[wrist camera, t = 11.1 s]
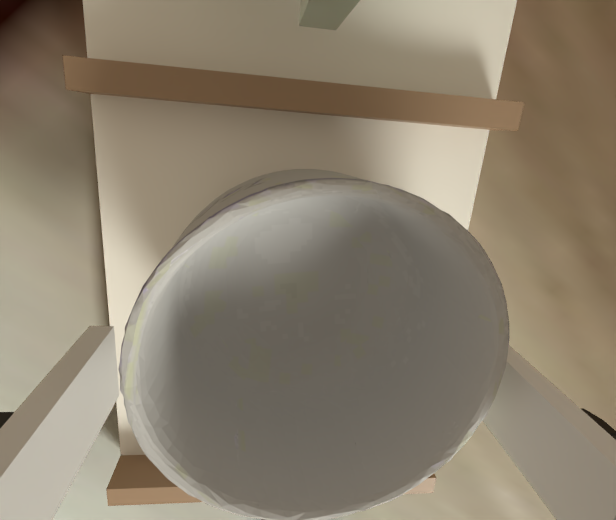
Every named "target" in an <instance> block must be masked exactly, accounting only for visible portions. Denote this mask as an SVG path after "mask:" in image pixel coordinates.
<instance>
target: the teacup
mask: <svg viewBox="0 0 616 520" xmlns="http://www.w3.org/2000/svg"><path fill="white" fill-rule="evenodd" d="M508 346H509V319H508V311H507V303H506V299H505V295H504V291H503V287H502V284H501V281H500V279H499V277H498V275H497V273H496V271H495V268H494V266H493V264H492V262H491V261H490V259H489V257H488V255H487V254H486V252H485V251H484V249H483V248H482V246H481V245H480V243H479V242H478V241H477V240H476V239H475V238H474V237H473V236H472V235H471V234H470V233H469V232H468V230H466V229H465V228H464V227H463V226H462V225H461V224H460V223H459V222H457V221H456V220H455V219H454V218H453V217H452V216H451V215H450V214H448V213H446V212H444V211H442V210H440V209H439V208H437V207H436V206H434V205H433V204H431V203H430V202H428V201H427V200H425V199H423V198H421V197H419V196H416V195H414V194H411V193H409V192H407V191H404V190H402V189H399V188H395V187H392V186H389V185H385V184H380V183H376V182H372V181H368V180H363V179H360V178H357V177H353V176H349V175H346V174H342V173H338V172H332V171H326V170H317V169H293V170H283V171H278V172H273V173H269V174H265V175H261V176H258V177H255V178H252V179H250V180H248V181H246V182H243V183H241V184H239V185H237V186H235V187H233V188H231V189H229V190H228V191H226V192H225V193H223V194H222V195H220V196H219V197H217V198H216V199H215V200H213V201H212V202H211V203H210V204H209V205H208V206H206V207H205V208H204V209H203V210H202V211H201V212H200V213H199V214H198V215H197V216H196V217H195V218H194V219H193V220H192V222H191V223H190V224H189V225H188V226H187V227H186V229H185V230H184V231H183V233H182V234H181V236H180V237H179V238H178V240H177V241H176V242H175V244H174V245H173V247H172V248H171V249H170V250H169V251H168V252H167V254H166V255H165V256H164V257H163V258H162V260H161V261H160V262H159V264H158V265H157V267H156V268H155V269H154V271H153V272H152V274H151V275H150V276H149V278H148V279H147V281H146V282H145V283H144V285H143V287H142V289H141V291H140V293H139V295H138V297H137V300H136V302H135V304H134V306H133V309H132V311H131V313H130V316H129V318H128V321H127V323H126V326H125V335H124V338H123V342H122V346H121V355H120V363H119V369H118V370H119V373H120V391H121V393H122V395H123V397H124V406H125V408H126V413H127V419H128V423H129V424H130V426H131V427H132V431H133V433H134V435H135V437H136V439H137V441H138V443H139V445H140V447H141V449H142V450H143V452H144V453H145V455H146V456H147V457H148V459H149V460H150V461H151V462H152V463H153V464H154V465H155V466H156V467H157V468H158V469H159V470H160V471H161V472H162V474H163V475H164V476H165V477H166V478H167V479H168V480H170V481H171V482H172V483H174V484H175V485H176V486H178V487H179V488H180V489H182V490H183V491H184V492H186V493H187V494H188V495H190V496H192V497H195V498H197V499H199V500H200V501H202V502H204V503H205V504H207V505H210V506H212V507H215V508H217V509H220V510H223V511H226V512H229V513H232V514H236V515H240V516H246V517H252V518H258V519H261V520H328V519H333V518H338V517H342V516H346V515H350V514H353V513H356V512H359V511H365V510H367V509H370V508H373V507H375V506H378V505H381V504H383V503H386V502H389V501H391V500H393V499H395V498H397V497H399V496H401V495H403V494H404V493H406V492H408V491H409V490H411V489H413V488H414V487H416V486H418V485H419V484H420V483H422V482H423V481H424V480H426V479H427V478H428V477H430V476H431V475H432V474H434V473H435V472H436V471H437V470H438V469H440V468H441V467H442V466H443V465H444V464H446V463H447V462H448V461H450V460H451V459H452V457H453V456H454V455H455V454H456V453H457V452H458V451H459V450H460V449H461V448H462V447H463V446H464V445H465V443H466V442H467V441H468V440H469V438H470V437H471V436H472V435H473V433H474V432H475V430H476V429H477V427H478V426H479V424H480V423H481V421H482V420H483V419H484V417H485V416H486V415H487V413H488V411H489V409H490V407H491V405H492V403H493V401H494V399H495V397H496V394H497V391H498V388H499V386H500V383H501V380H502V377H503V374H504V371H505V368H506V362H507V355H508Z"/></svg>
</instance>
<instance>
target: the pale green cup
mask: <svg viewBox="0 0 616 520" xmlns="http://www.w3.org/2000/svg"><path fill="white" fill-rule="evenodd" d="M359 1H360V0H301V1H300V16H299V26H303V27H312V28H320V29H328V30H336V29H337V28H338V27H339V26H340V25H341V23H342V22H343V21H344V20H345V18H346V17H347V16H348V15H349V13H350V12H351V11H352V10H353V9H354V7H355V6H356V5H357V4H358V2H359Z"/></svg>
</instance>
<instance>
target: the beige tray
mask: <svg viewBox="0 0 616 520" xmlns="http://www.w3.org/2000/svg"><path fill="white" fill-rule="evenodd" d="M300 1H301V0H83V11H84V23H85V35H86V47H87V58H84V57H74V56H64V55H62V56H63V66H64V76H65V86H66V89H67V90H72V91H78V92H84V93H89V94H91V106H92V118H93V130H94V142H95V154H96V166H97V178H98V190H99V202H100V214H101V225H102V237H103V249H104V261H105V273H106V285H107V297H108V309H109V321H110V326H114V333H115V346H116V359H117V372H118V384H119V397H118V399H117V400H116V404H117V416H118V428H119V440H120V452H121V456H120V458H119V461H118V463H117V466H116V468H115V470H114V473H113V475H112V477H111V480H110V482H109V485H108V487H107V489H106V490H107V499H108V506H115V505H140V504H165V503H190V502H202V501H200V500H199V499H197V498H195V497H192V496H190V495H188V494H187V493H186V492H184V491H183V490H182V489H180V488H179V487H178V486H176V485H175V484H174V483H172V482H171V481H170V480H168V479H167V478H166V477H165V476H164V475H163V474H162V472H161V471H160V470H159V469H158V468H157V467H156V466H155V465H154V464H153V463H152V462H151V461H150V460H149V459H148V457H147V456H146V455H145V453H144V452H143V450H142V449H141V447H140V445H139V443H138V441H137V439H136V437H135V435H134V433H133V431H132V427H131V426H130V424H129V423H128V419H127V413H126V408H125V406H124V397H123V395H122V393H121V391H120V373H119V370H118V369H119V363H120V355H121V346H122V342H123V338H124V335H125V326H126V323H127V321H128V318H129V316H130V313H131V311H132V309H133V306H134V304H135V302H136V300H137V297H138V295H139V293H140V291H141V289H142V287H143V285H144V283H145V282H146V281H147V279H148V278H149V276H150V275H151V274H152V272H153V271H154V269H155V268H156V267H157V265H158V264H159V262H160V261H161V260H162V258H163V257H164V256H165V255H166V254H167V252H168V251H169V250H170V249H171V248H172V247H173V245H174V244H175V242H176V241H177V240H178V238H179V237H180V236H181V234H182V233H183V231H184V230H185V229H186V227H187V226H188V225H189V224H190V223H191V222H192V220H193V219H194V218H195V217H196V216H197V215H198V214H199V213H200V212H201V211H202V210H203V209H204V208H205V207H206V206H208V205H209V204H210V203H211V202H212V201H213V200H215V199H216V198H217V197H219V196H220V195H222V194H223V193H225V192H226V191H228V190H229V189H231V188H233V187H235V186H237V185H239V184H241V183H243V182H246V181H248V180H250V179H252V178H255V177H258V176H261V175H265V174H269V173H273V172H278V171H283V170H293V169H317V170H326V171H332V172H338V173H342V174H346V175H349V176H353V177H357V178H360V179H363V180H368V181H372V182H376V183H380V184H385V185H389V186H392V187H395V188H399V189H402V190H404V191H407V192H409V193H411V194H414V195H416V196H419V197H421V198H423V199H425V200H427V201H428V202H430V203H431V204H433V205H434V206H436V207H437V208H439V209H440V210H442V211H444V212H446V213H448V214H450V215H451V216H452V217H453V218H454V219H455V220H456V221H457V222H459V223H460V224H461V225H462V226H463V227H464V228H465V229H466V230H468V228H469V223H470V219H471V214H472V209H473V205H474V200H475V195H476V190H477V186H478V181H479V176H480V172H481V167H482V162H483V158H484V153H485V148H486V144H487V139H488V134H489V130H516V131H518V129H519V124H520V120H521V116H522V112H523V107H524V103H525V102H517V101H507V100H497V99H496V97H497V92H498V87H499V83H500V78H501V73H502V69H503V64H504V59H505V54H506V50H507V45H508V40H509V36H510V31H511V26H512V22H513V17H514V12H515V8H516V3H517V0H360V1H359V2H358V4H357V5H356V6H355V7H354V9H353V10H352V11H351V12H350V13H349V15H348V16H347V17H346V18H345V20H344V21H343V22H342V23H341V25H340V26H339V27H338V28H337V29H336V30H328V29H320V28H312V27H303V26H299V16H300ZM435 482H436V476H435V474H432V475H431V476H430V477H428V478H427V479H426V480H424V481H423V482H422V483H420V484H419V485H418V486H416V487H414V488H413V489H411V490H409V491H408V492H406V493H404V494H415V493H433V491H434V486H435Z"/></svg>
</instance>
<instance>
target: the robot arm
mask: <svg viewBox="0 0 616 520" xmlns="http://www.w3.org/2000/svg"><path fill="white" fill-rule="evenodd" d="M118 397H119V384H118V372H117V359H116V346H115V333H114V326H89V327H88V329H87V330H86V331H85V332H84V333H83V334H82V335H81V337H80V338H79V339H78V340H77V341H76V342H75V343H74V345H73V346H72V347H71V348H70V349H69V350H68V352H67V353H66V354H65V355H64V356H63V357H62V358H61V360H60V361H59V362H58V363H57V364H56V365H55V366H54V368H53V369H52V370H51V371H50V372H49V373H48V374H47V376H46V377H45V378H44V379H43V380H42V381H41V382H40V384H39V385H38V386H37V387H36V388H35V389H34V390H33V392H32V393H31V394H30V395H29V396H28V397H27V398H26V400H25V401H24V402H23V403H22V404H21V405H20V407H19V408H18V409H17V410H16V411H15V412H0V520H53V518H54V516H55V514H56V512H57V510H58V508H59V506H60V505H61V503H62V501H63V499H64V497H65V495H66V493H67V492H68V490H69V488H70V486H71V484H72V482H73V480H74V479H75V477H76V475H77V473H78V471H79V469H80V467H81V466H82V464H83V462H84V460H85V458H86V456H87V454H88V452H89V451H90V449H91V447H92V445H93V443H94V441H95V439H96V438H97V436H98V434H99V432H100V430H101V428H102V426H103V425H104V423H105V421H106V419H107V417H108V415H109V413H110V412H111V410H112V408H113V406H114V404H115V402H116V400H117V399H118ZM482 421H483V422H484V423H485V425H486V426H487V427H488V429H489V430H490V431H491V433H492V434H493V435H494V437H495V438H496V439H497V441H498V442H499V444H500V445H501V446H502V448H503V449H504V450H505V452H506V453H507V454H508V456H509V457H510V458H511V460H512V461H513V462H514V464H515V465H516V466H517V468H518V469H519V470H520V472H521V473H522V474H523V476H524V477H525V478H526V480H527V481H528V482H529V484H530V485H531V486H532V488H533V489H534V490H535V492H536V493H537V494H538V496H539V497H540V498H541V500H542V501H543V503H544V504H545V505H546V507H547V508H548V509H549V511H550V512H551V513H552V515H553V516H554V517H555V519H556V520H616V431H615V430H614V429H613V428H612V427H610V426H609V425H608V424H607V423H606V422H605V421H603V420H602V419H600V418H599V417H597V416H595V415H594V414H592V413H590V412H589V411H587V410H585V409H580V408H579V407H578V406H577V405H576V404H575V403H574V402H572V401H571V400H570V399H569V398H568V397H567V396H566V395H565V394H563V393H562V392H561V391H560V390H559V389H558V388H557V387H556V386H554V385H553V384H552V383H551V382H550V381H549V380H548V379H547V378H545V377H544V376H543V375H542V374H541V373H540V372H539V371H538V370H536V369H535V368H534V367H533V366H532V365H531V364H530V363H529V362H527V361H526V360H525V359H524V358H523V357H522V356H521V355H520V354H518V353H517V352H516V351H515V350H514V349H513V348H512V347H511V346H508V355H507V362H506V368H505V371H504V374H503V377H502V380H501V383H500V386H499V388H498V391H497V394H496V397H495V399H494V401H493V403H492V405H491V407H490V409H489V411H488V413H487V415H486V416H485V417H484V419H483V420H482Z"/></svg>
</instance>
